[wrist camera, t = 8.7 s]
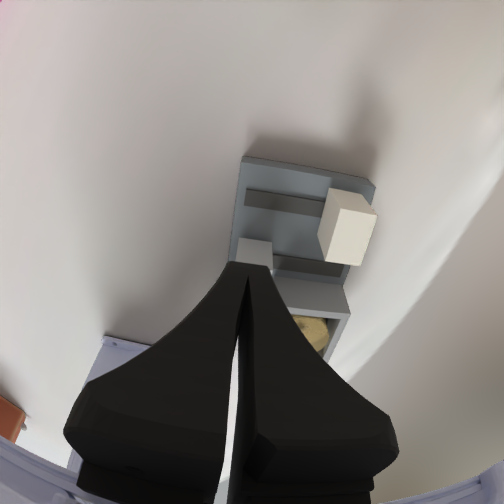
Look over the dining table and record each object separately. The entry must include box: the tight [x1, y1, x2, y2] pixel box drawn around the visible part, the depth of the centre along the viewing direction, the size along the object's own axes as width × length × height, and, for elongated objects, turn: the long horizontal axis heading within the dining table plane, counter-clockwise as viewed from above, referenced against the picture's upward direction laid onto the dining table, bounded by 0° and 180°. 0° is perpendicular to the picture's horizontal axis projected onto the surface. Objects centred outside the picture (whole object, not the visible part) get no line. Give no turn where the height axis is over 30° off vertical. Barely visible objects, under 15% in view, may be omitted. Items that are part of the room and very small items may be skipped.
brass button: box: [291, 314, 329, 351], centre depth 20 cm, size 3×3×3 cm
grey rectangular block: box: [235, 237, 273, 275], centre depth 18 cm, size 2×3×3 cm, turn 172°
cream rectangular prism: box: [317, 188, 378, 266], centre depth 16 cm, size 2×3×3 cm, turn 172°
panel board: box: [228, 156, 376, 363], centre depth 19 cm, size 8×12×4 cm, turn 172°
